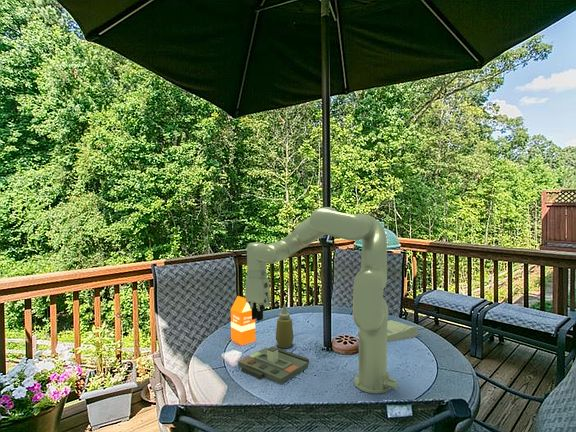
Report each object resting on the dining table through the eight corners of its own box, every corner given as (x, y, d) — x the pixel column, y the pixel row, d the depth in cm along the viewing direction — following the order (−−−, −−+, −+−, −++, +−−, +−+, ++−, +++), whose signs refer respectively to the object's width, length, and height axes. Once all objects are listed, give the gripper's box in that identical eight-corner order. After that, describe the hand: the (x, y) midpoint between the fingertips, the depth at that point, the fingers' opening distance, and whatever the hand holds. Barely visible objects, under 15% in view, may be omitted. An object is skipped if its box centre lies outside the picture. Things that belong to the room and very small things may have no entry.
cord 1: (263, 377, 130) (263, 373, 130) (260, 379, 129) (260, 375, 129) (244, 369, 137) (244, 365, 137) (241, 371, 135) (241, 367, 135)
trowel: (361, 344, 160) (361, 332, 160) (354, 331, 176) (354, 320, 176) (424, 343, 161) (424, 331, 160) (411, 330, 176) (411, 319, 176)
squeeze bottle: (291, 350, 154) (291, 309, 153) (273, 348, 155) (273, 308, 154) (295, 342, 161) (295, 303, 160) (277, 341, 163) (277, 302, 162)
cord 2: (308, 362, 142) (308, 358, 142) (306, 364, 141) (306, 360, 140) (274, 350, 153) (274, 347, 153) (272, 352, 152) (272, 348, 152)
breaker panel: (307, 367, 138) (307, 360, 138) (281, 384, 126) (281, 376, 125) (265, 352, 152) (265, 345, 152) (238, 366, 139) (237, 359, 139)
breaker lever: (278, 361, 139) (278, 348, 139) (273, 363, 136) (272, 351, 136) (272, 358, 141) (272, 346, 140) (267, 361, 138) (267, 348, 138)
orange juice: (241, 345, 159) (240, 301, 158) (230, 339, 166) (230, 297, 165) (255, 340, 164) (255, 297, 163) (244, 335, 171) (244, 293, 170)
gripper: (278, 274, 140) (278, 321, 141) (249, 269, 150) (250, 313, 151) (265, 278, 134) (265, 326, 135) (236, 272, 144) (236, 317, 145)
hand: (257, 319), depth 143 cm, fingers closed
